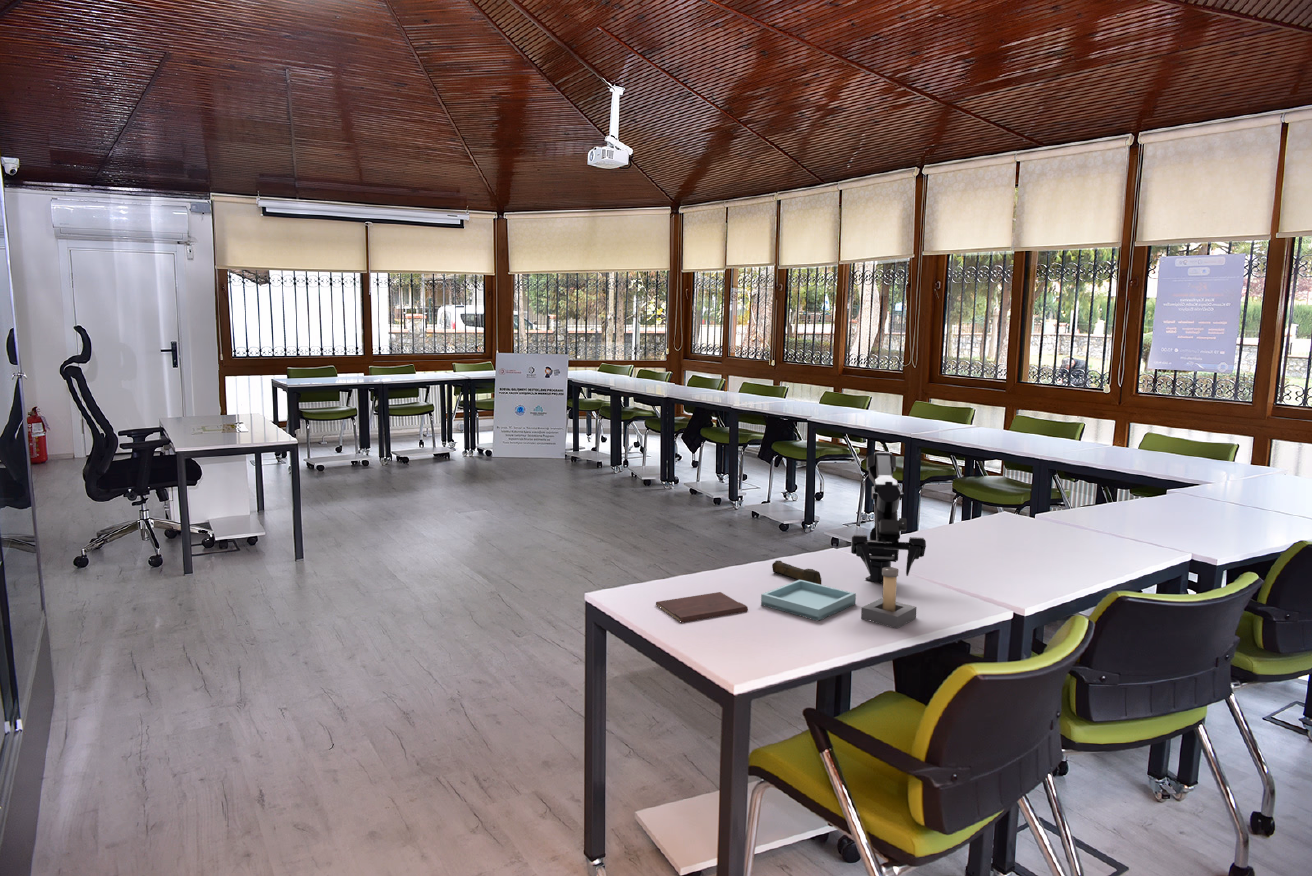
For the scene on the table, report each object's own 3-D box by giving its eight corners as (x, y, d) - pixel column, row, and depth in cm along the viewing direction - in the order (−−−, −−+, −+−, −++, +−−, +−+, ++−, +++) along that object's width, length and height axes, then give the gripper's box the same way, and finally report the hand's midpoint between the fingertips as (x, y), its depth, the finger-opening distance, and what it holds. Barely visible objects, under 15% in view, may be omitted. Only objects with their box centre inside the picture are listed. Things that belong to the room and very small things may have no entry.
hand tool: (771, 573, 252) (771, 558, 252) (781, 571, 254) (781, 556, 254) (813, 590, 236) (813, 574, 236) (824, 588, 238) (824, 572, 238)
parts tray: (799, 589, 236) (799, 579, 235) (855, 604, 223) (855, 593, 223) (761, 605, 223) (761, 594, 223) (818, 621, 211) (818, 609, 210)
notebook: (655, 607, 223) (655, 600, 223) (719, 597, 232) (719, 590, 231) (680, 625, 210) (680, 617, 210) (747, 613, 218) (748, 606, 218)
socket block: (880, 609, 219) (881, 598, 219) (916, 618, 212) (916, 606, 212) (861, 618, 212) (861, 607, 212) (897, 628, 205) (897, 616, 205)
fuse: (885, 614, 215) (887, 566, 213) (899, 618, 212) (901, 569, 211) (877, 618, 212) (879, 569, 210) (891, 622, 209) (893, 572, 208)
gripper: (852, 505, 219) (853, 556, 210) (926, 507, 216) (930, 560, 206) (850, 527, 228) (851, 578, 218) (921, 530, 224) (925, 581, 215)
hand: (888, 574), depth 214 cm, fingers open, 9 cm apart
